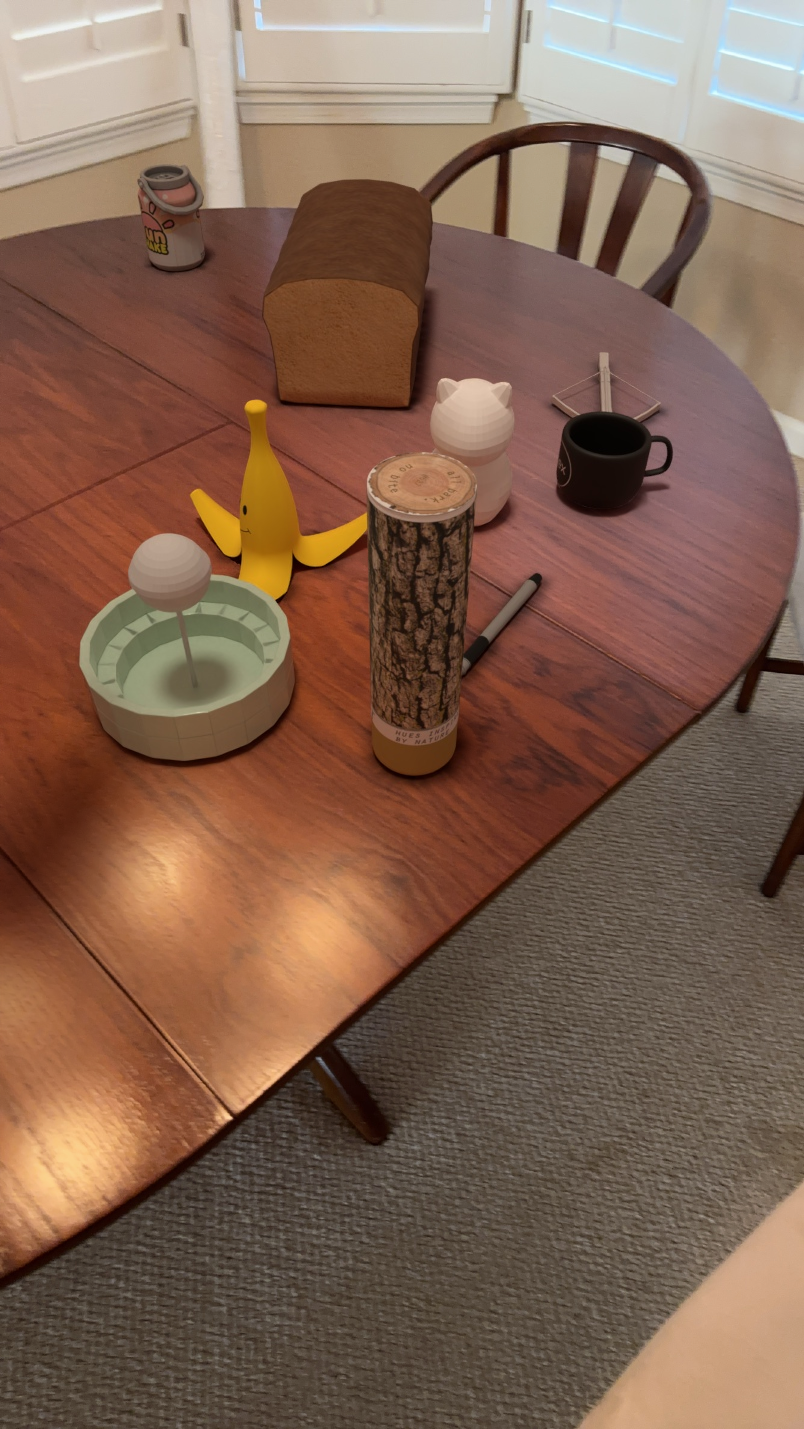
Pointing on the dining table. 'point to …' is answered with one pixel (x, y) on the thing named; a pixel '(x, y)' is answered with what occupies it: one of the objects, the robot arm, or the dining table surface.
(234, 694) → the bowl
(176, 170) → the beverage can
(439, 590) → the paper tube
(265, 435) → the banana peel
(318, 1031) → the dining table surface
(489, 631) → the pen
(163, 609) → the lollipop
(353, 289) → the bread
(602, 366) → the crossbow
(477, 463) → the cat figurine
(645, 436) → the mug
